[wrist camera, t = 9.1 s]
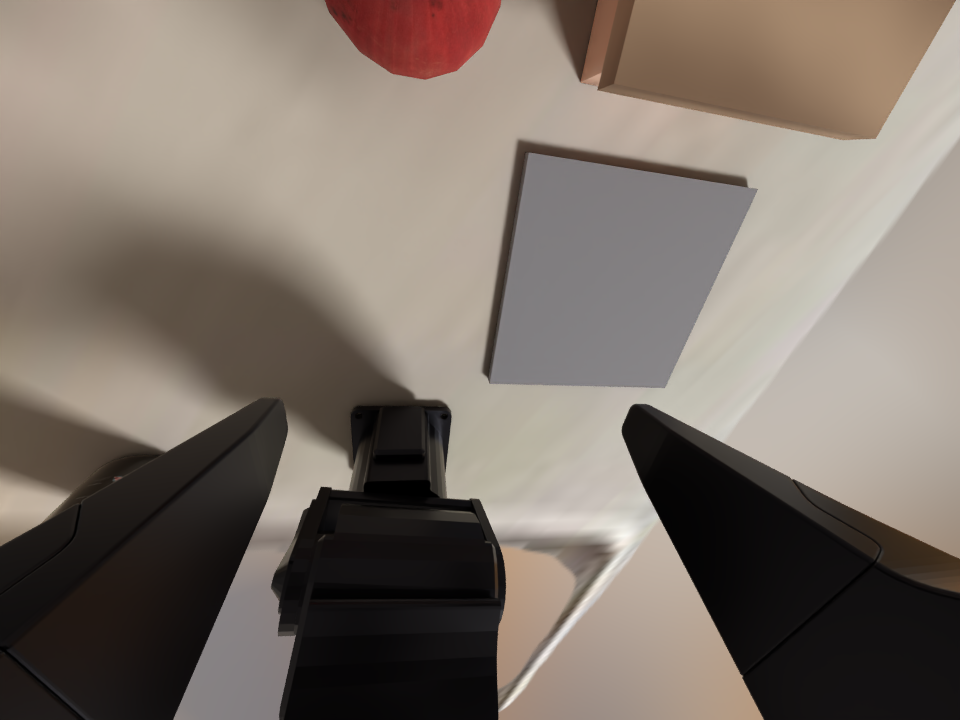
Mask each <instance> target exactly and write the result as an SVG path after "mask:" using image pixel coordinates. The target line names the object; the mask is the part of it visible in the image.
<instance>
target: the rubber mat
mask: <svg viewBox="0 0 960 720" xmlns="http://www.w3.org/2000/svg"><path fill="white" fill-rule="evenodd" d="M757 190H758V189H754V188H747V187H741V186H735V185H729V184H722V183H716V182H710V181H704V180H698V179H691V178H685V177H679V176H673V175H666V174H660V173H654V172H648V171H641V170H635V169H629V168H623V167H617V166H610V165H604V164H598V163H592V162H585V161H579V160H573V159H567V158H560V157H554V156H548V155H542V154H535V153H529V152H528V153H525V159H524V165H523V171H522V177H521V183H520V189H519V195H518V201H517V207H516V213H515V219H514V225H513V231H512V237H511V243H510V249H509V255H508V261H507V268H506V274H505V280H504V286H503V292H502V298H501V304H500V310H499V316H498V322H497V328H496V334H495V340H494V346H493V352H492V358H491V364H490V370H489V376H488V380H489V383H490V384H526V385H567V386H608V387H649V388H665V386H666V384H667V382H668V380H669V378H670V376H671V374H672V372H673V369H674V367H675V365H676V363H677V361H678V359H679V357H680V355H681V352H682V350H683V348H684V346H685V344H686V342H687V340H688V337H689V335H690V333H691V331H692V329H693V327H694V325H695V323H696V320H697V318H698V316H699V314H700V312H701V310H702V308H703V305H704V303H705V301H706V299H707V297H708V295H709V293H710V291H711V288H712V286H713V284H714V282H715V280H716V278H717V276H718V273H719V271H720V269H721V267H722V265H723V263H724V261H725V259H726V256H727V254H728V252H729V250H730V248H731V246H732V244H733V241H734V239H735V237H736V235H737V233H738V231H739V229H740V227H741V224H742V222H743V220H744V218H745V216H746V214H747V212H748V209H749V207H750V205H751V203H752V201H753V199H754V197H755V195H756V192H757Z"/></svg>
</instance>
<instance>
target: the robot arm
mask: <svg viewBox="0 0 960 720" xmlns="http://www.w3.org/2000/svg"><path fill="white" fill-rule="evenodd" d="M356 413H361V414H362V415H357V414H356ZM442 414H447V415H445V416H442ZM451 417H452V416H451V410H450V409H449V408H447V407H409V406H356V407H354V408H353V409H352V412H351V431H352V445H353V460H354V469H353V474H352V478H351V483H350V488H349V491H344V490H332V488H331V487H321V488H320V490H319V493H318V496H317V498H316V499H313V500H312V502H311V505H310V507H309V508H307V509H305V510H303V514H302V517H301V520H300V523H299V526H298V529H297V531H296V534H295V537H294V539H293V541H292V543H291V545H290V547H289V549H288V550H287V552H286V554H285V556H284V558H283V559H282V561H281V563H280V565H279V567H278V568H277V570H276V572H275V574H274V577H273V580H272V585H271V589H272V590H273V592H274V593H275V595H276V597H277V598H278V600H279V601H280V602H279V609H278V614H281V616H280V621H279V628H278V636H294V635H296V637H295V642H294V647H293V651H292V656H291V660H290V665H289V669H288V674H287V679H286V683H285V688H284V692H283V697H282V701H281V706H280V713H279V718H280V720H498V691H497V638H498V637H497V636H498V626H499V623H500V621H501V618H502V615H503V611H504V604H505V594H506V577H505V567H504V560H503V555H502V552H501V549H500V546H499V544H498V542H497V539H496V537H495V534H494V532H493V530H492V527H491V525H490V523H489V520H488V518H487V516H486V513H485V511H484V509H483V506H482V504H481V502H480V500H479V499H472V498H470V499H469V500H462V499H449V498H447V492H446V480H445V471H446V462H447V453H448V444H449V435H450V426H451ZM287 433H288V425H287V419H286V413H285V408H284V403H283V401H282V400H281V399H280V398H260V399H258V400H257V401H255V402H253V403H251V404H250V405H248V406H246V407H244V408H243V409H241V410H239V411H237V412H236V413H234V414H232V415H230V416H229V417H227V418H225V419H223V420H222V421H220V422H218V423H216V424H215V425H213V426H211V427H209V428H208V429H206V430H204V431H202V432H201V433H199V434H197V435H195V436H194V437H192V438H190V439H188V440H187V441H185V442H183V443H181V444H180V445H178V446H176V447H174V448H173V449H171V450H169V451H168V452H166V453H164V454H162V455H161V456H159V457H157V458H155V459H154V460H152V461H150V462H148V463H147V464H145V465H143V466H141V467H140V468H138V469H136V470H134V471H133V472H131V473H129V474H127V475H126V476H124V477H122V478H120V479H119V480H117V481H115V482H113V483H112V484H110V485H108V486H106V487H105V488H103V489H101V490H99V491H98V492H96V493H94V494H92V495H91V496H89V497H87V498H85V499H84V500H82V502H81V504H75V505H73V506H71V507H70V508H68V509H66V510H64V511H63V512H61V513H59V514H57V515H56V516H54V517H52V518H50V519H49V520H47V521H45V522H43V523H41V524H40V525H38V526H36V527H34V528H32V529H31V530H29V531H27V532H25V533H23V534H22V535H20V536H18V537H16V538H14V539H13V540H11V541H9V542H7V543H5V544H4V545H2V546H0V720H173V719H174V716H175V714H176V712H177V709H178V707H179V705H180V702H181V700H182V698H183V695H184V693H185V691H186V688H187V686H188V684H189V681H190V679H191V677H192V674H193V672H194V670H195V667H196V665H197V663H198V660H199V658H200V656H201V654H202V651H203V649H204V647H205V644H206V642H207V640H208V637H209V635H210V632H211V630H212V628H213V626H214V623H215V621H216V619H217V616H218V614H219V612H220V609H221V607H222V605H223V602H224V600H225V598H226V595H227V593H228V591H229V588H230V586H231V584H232V582H233V579H234V577H235V574H236V572H237V570H238V568H239V565H240V563H241V560H242V558H243V556H244V554H245V551H246V549H247V547H248V544H249V542H250V540H251V537H252V535H253V533H254V530H255V528H256V526H257V523H258V521H259V519H260V516H261V514H262V512H263V509H264V507H265V505H266V502H267V500H268V497H269V494H270V491H271V488H272V485H273V482H274V478H275V475H276V471H277V468H278V465H279V461H280V458H281V454H282V451H283V448H284V444H285V441H286V437H287ZM622 435H623V438H624V441H625V443H626V446H627V448H628V451H629V453H630V456H631V458H632V461H633V463H634V466H635V468H636V470H637V473H638V475H639V478H640V480H641V482H642V485H643V487H644V489H645V491H646V493H647V495H648V497H649V499H650V500H651V502H652V504H653V506H654V508H655V510H656V512H657V514H658V516H659V518H660V520H661V522H662V524H663V526H664V527H665V529H666V531H667V533H668V535H669V537H670V539H671V541H672V543H673V545H674V547H675V549H676V550H677V552H678V554H679V556H680V558H681V560H682V562H683V564H684V566H685V568H686V570H687V572H688V574H689V576H690V578H691V580H692V581H693V583H694V585H695V587H696V589H697V591H698V593H699V595H700V597H701V599H702V601H703V603H704V605H705V606H706V608H707V610H708V612H709V614H710V616H711V618H712V620H713V622H714V624H715V626H716V628H717V630H718V632H719V633H720V635H721V637H722V639H723V641H724V643H725V645H726V647H727V649H728V651H729V653H730V654H731V657H732V658H733V660H734V662H735V664H736V666H737V668H738V670H739V672H740V674H741V675H742V676H743V677H742V678H743V680H744V682H745V684H746V686H747V688H748V690H749V692H750V694H751V696H752V698H753V700H754V702H755V704H756V705H757V707H758V709H759V711H760V713H761V715H762V717H763V719H764V720H960V559H959V558H957V557H954V556H952V555H950V554H948V553H946V552H943V551H941V550H939V549H937V548H935V547H933V546H931V545H928V544H926V543H924V542H922V541H920V540H918V539H916V538H914V537H911V536H909V535H907V534H905V533H903V532H901V531H899V530H897V529H894V528H892V527H890V526H888V525H886V524H884V523H882V522H879V521H877V520H875V519H873V518H871V517H869V516H867V515H865V514H863V513H861V512H859V511H856V510H854V509H852V508H850V507H848V506H846V505H844V504H842V503H840V502H838V501H836V500H834V499H832V498H830V497H828V496H826V495H824V494H822V493H820V492H818V491H816V490H814V489H812V488H810V487H808V486H806V485H804V484H802V483H800V482H798V481H796V480H794V479H793V480H792V479H791V478H790V477H788V476H786V475H784V474H783V473H781V472H779V471H777V470H775V469H772V468H771V467H769V466H767V465H765V464H763V463H761V462H759V461H757V460H755V459H753V458H751V457H749V456H747V455H745V454H744V453H742V452H739V451H738V450H735V449H734V448H732V447H730V446H728V445H726V444H724V443H722V442H720V441H718V440H716V439H714V438H712V437H710V436H708V435H707V434H705V433H703V432H701V431H699V430H697V429H695V428H693V427H691V426H689V425H687V424H685V423H683V422H681V421H679V420H677V419H675V418H673V417H671V416H669V415H668V414H666V413H664V412H662V411H660V410H658V409H656V408H654V407H652V406H650V405H647V404H634V405H632V406H631V407H630V409H629V412H628V414H627V416H626V419H625V421H624V423H623V426H622Z"/></svg>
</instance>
